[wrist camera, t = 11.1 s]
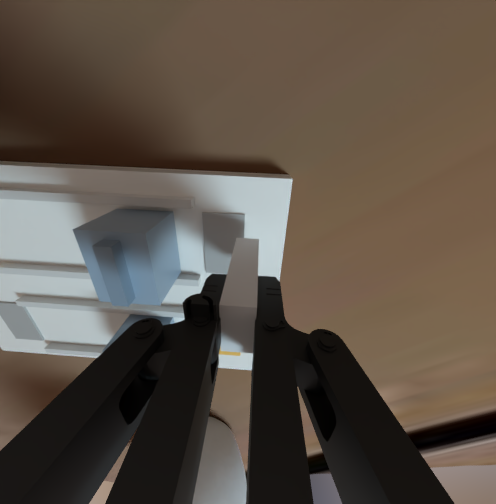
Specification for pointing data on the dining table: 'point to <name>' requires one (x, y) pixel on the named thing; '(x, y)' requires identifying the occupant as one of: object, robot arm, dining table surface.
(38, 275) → the switch board
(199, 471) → the pitcher
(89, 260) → the tab
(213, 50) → the dining table surface
